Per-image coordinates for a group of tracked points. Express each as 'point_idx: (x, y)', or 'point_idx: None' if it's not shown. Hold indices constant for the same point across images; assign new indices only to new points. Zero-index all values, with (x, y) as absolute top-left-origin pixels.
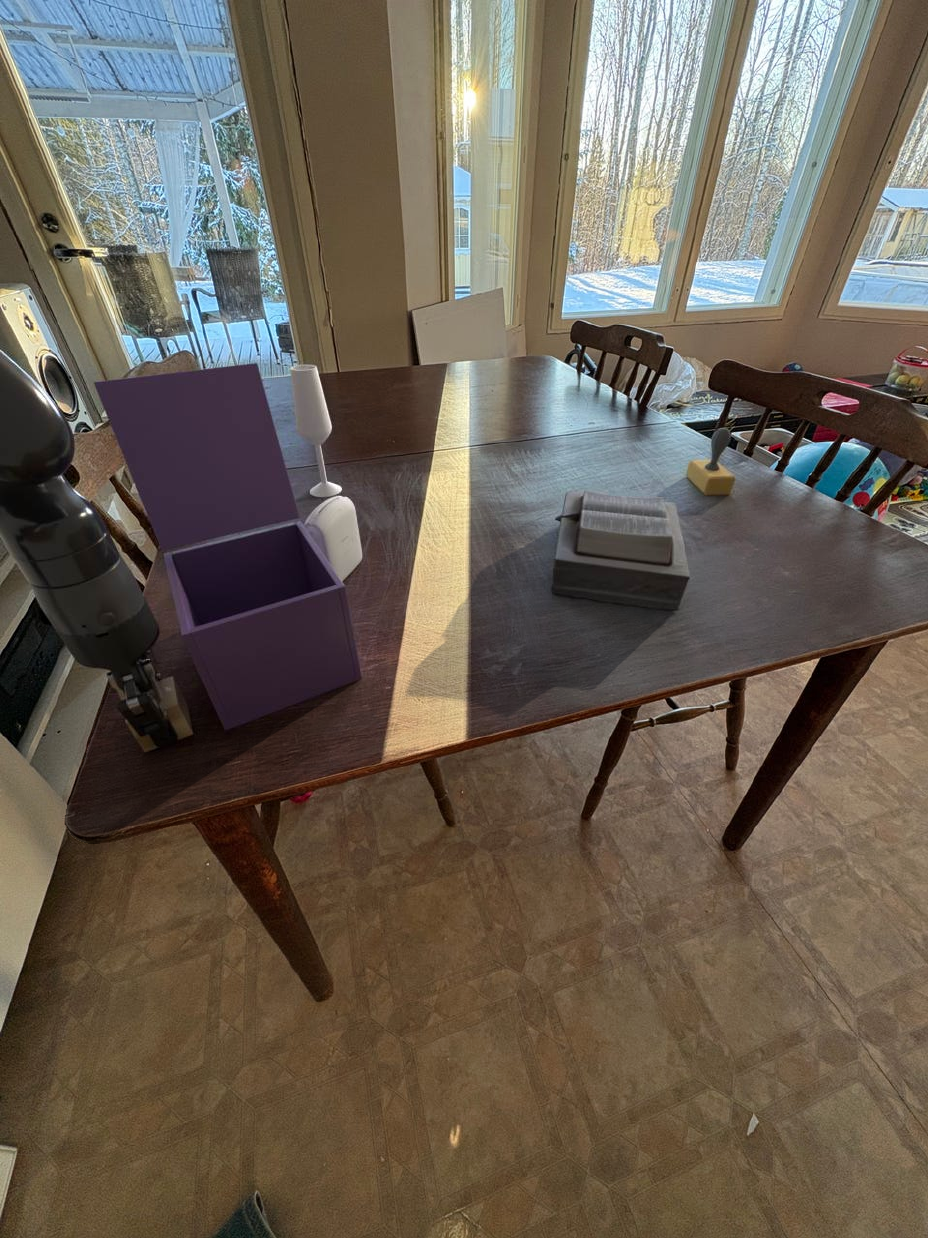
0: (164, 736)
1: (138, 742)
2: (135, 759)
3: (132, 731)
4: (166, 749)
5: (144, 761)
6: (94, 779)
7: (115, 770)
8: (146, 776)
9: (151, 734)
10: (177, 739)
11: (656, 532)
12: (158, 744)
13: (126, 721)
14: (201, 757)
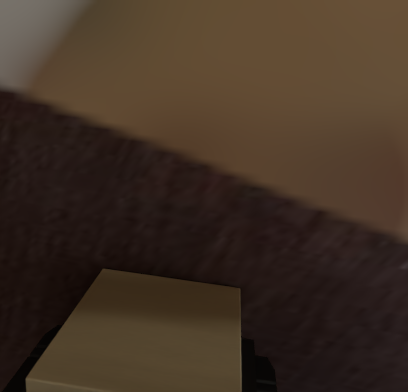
0: None
1: (83, 296)
2: (91, 242)
3: (55, 338)
4: None
5: (70, 259)
6: (73, 130)
7: (77, 188)
8: (12, 252)
9: None
10: None
11: None
12: (43, 337)
13: (31, 382)
14: (13, 366)
